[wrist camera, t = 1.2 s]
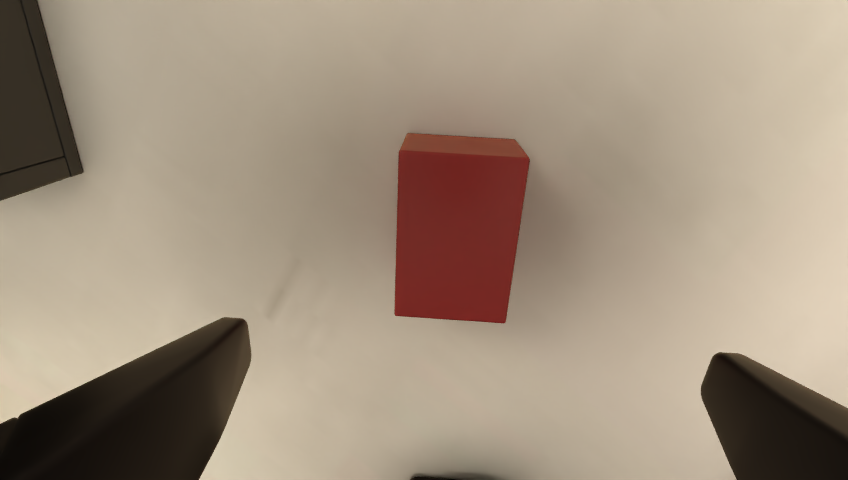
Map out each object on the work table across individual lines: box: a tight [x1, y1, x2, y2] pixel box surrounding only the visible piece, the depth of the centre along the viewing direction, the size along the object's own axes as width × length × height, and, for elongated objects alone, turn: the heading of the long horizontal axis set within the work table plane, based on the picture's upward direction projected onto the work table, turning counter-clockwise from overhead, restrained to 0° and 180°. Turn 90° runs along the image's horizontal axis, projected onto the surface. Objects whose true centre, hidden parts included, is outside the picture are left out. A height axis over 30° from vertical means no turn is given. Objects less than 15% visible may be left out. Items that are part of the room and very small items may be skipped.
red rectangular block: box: [395, 133, 530, 323], centre depth 16 cm, size 6×4×3 cm, turn 177°
